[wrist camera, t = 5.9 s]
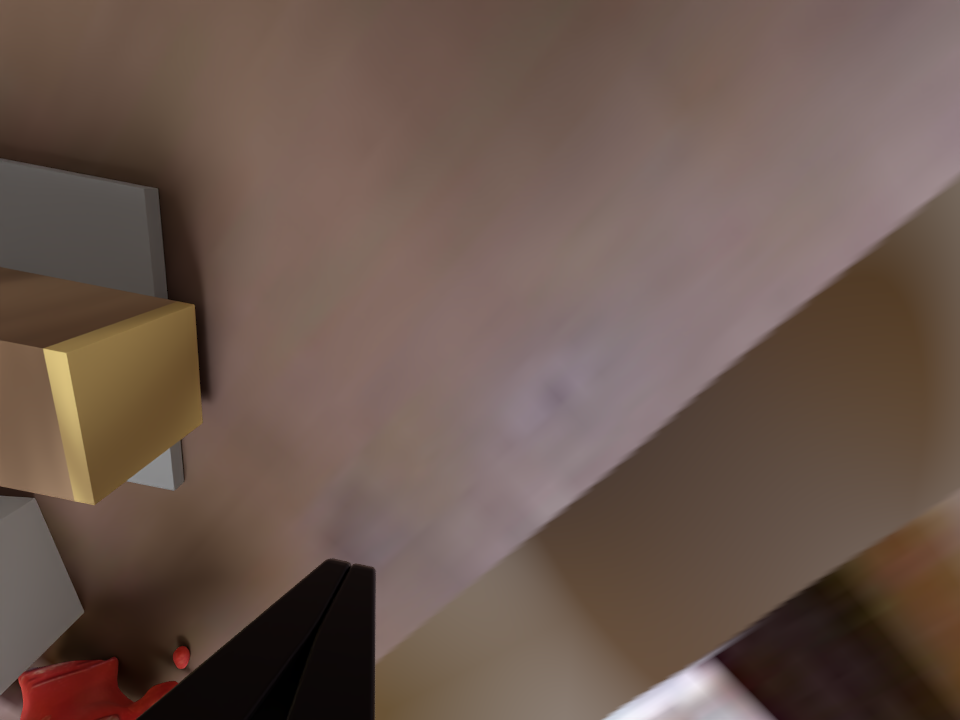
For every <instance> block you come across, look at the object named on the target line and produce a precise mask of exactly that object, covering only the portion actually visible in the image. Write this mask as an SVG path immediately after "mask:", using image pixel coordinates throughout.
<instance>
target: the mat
mask: <svg viewBox="0 0 960 720" xmlns="http://www.w3.org/2000/svg"><path fill="white" fill-rule="evenodd" d="M0 267H3V268H8V269H13V270H19V271H24V272H29V273H34V274H39V275H44V276H50V277H55V278H60V279H65V280H70V281H75V282H80V283H86V284H91V285H96V286H101V287H106V288H111V289H117V290H122V291H127V292H132V293H137V294H142V295H148V296H153V297H158V298H163V299H168V295H167V284H166V273H165V262H164V250H163V239H162V228H161V217H160V206H159V194H158V188H153V187H148V186H143V185H137V184H132V183H127V182H122V181H117V180H111V179H106V178H101V177H96V176H91V175H85V174H80V173H75V172H70V171H65V170H59V169H54V168H49V167H44V166H39V165H33V164H28V163H23V162H18V161H13V160H7V159H2V158H0ZM127 481H128V482H133V483H138V484H143V485H148V486H153V487H158V488H163V489H168V490H173V491H174V490H176V489H177V488H178V487H179V486H180V485H181V484H182V483H183V482H184V474H183V463H182V452H181V441H178V442H177V443H176V444H174V445H173V446H172V447H170V448H169V449H168V450H166V451H165V452H164V453H163V454H161V455H160V456H159V457H157V458H156V459H155V460H153V461H152V462H151V463H149V464H148V465H147V466H145V467H144V468H143V469H141V470H140V471H139V472H138V473H136V474H135V475H134V476H132V477H131V478H130V479H128V480H127Z"/></svg>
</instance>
